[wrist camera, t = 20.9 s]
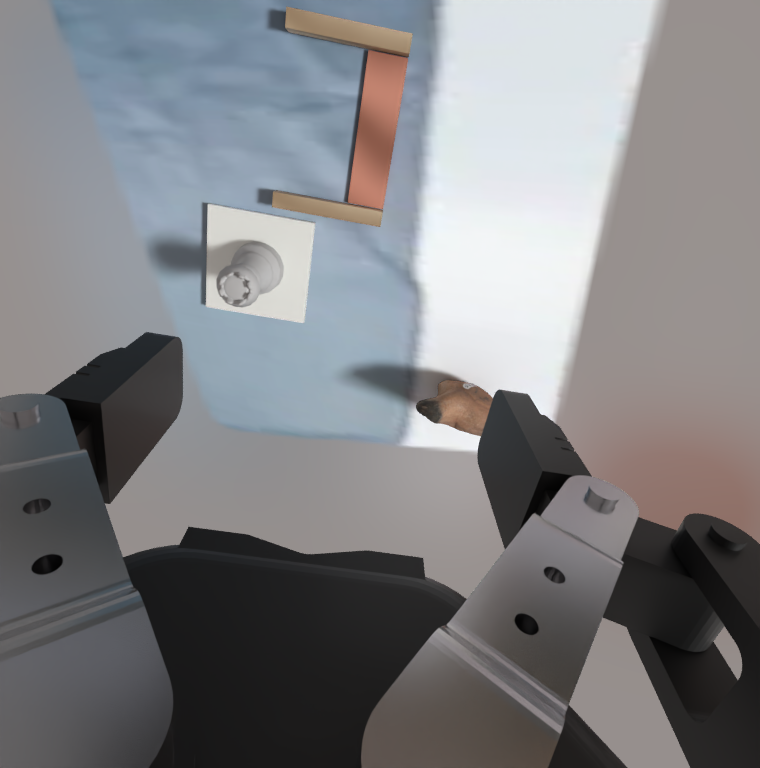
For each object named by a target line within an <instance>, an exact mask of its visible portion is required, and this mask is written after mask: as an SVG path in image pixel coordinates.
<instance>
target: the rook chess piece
mask: <svg viewBox="0 0 760 768" xmlns="http://www.w3.org/2000/svg"><path fill="white" fill-rule="evenodd" d="M283 272H284V265H283V262H282V259H281V256H280V255H279V254H278V253H277V252H276V250H275V249H274V248H273V247H271V246H269V245H267V244H266V243H262V242H256V241H253V242H250V243H246V244H244V245H243V246H241V247H240V248H239V249H238V250H237V251H236V252H235V254H234V256H233V258H232V260H231V265H229V266H226V267H225V268H223V269H222V270H221V271H220V272H219V274H218V277H217V279H216V287H217V290H218V293H219V295H220V297H222V299H223V300H224V301H225V302H226V303H227V304H229V305H232V306H235V307H246V306H250V305H251V304H252V303H254V302H255V301H256V300H257V298H258V296H259V295H260V294H264V293H268V292H270V291H271V290H273V289H274V288H275V287H277V286H278V285H279V284H280V282H281V280H282V278H283Z"/></svg>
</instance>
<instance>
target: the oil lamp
mask: <svg viewBox="0 0 760 768" xmlns="http://www.w3.org/2000/svg"><path fill="white" fill-rule="evenodd" d="M492 400H493V398H492V397H491V396H490V395H489V394H488V393H487V392H486V391H484V390H483V389H481V388H480V387H478V386H476V385H474V384H471V383H466V382H461V381H452V380H446V381H443V382H441V383H439V384H438V396H437V397H434V398H430V399H426V400H422V401H419V402H418V403H417V405H416V408H417V411H418V412H419V413H421V414H422V415H423V416H426V417H427V418H428V419H429V420H430V421H432V422H434V423H441V424H446V425H449V426H451V427H453V428H455V429H457V430H460V431H464V432H467V433H470V434H474V435H478V436H481V435H482V432H483V429H484V426H485V422H486V419H487V416H488V413H489V410H490V406H491V403H492Z"/></svg>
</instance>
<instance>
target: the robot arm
mask: <svg viewBox="0 0 760 768" xmlns="http://www.w3.org/2000/svg"><path fill="white" fill-rule="evenodd" d="M182 398H183V349H182V342H181V339H180V338H179V337H174V336H168V335H161V334H155V333H149V332H146V333H144V334H143V335H142V336H140V337H139V338H138V339H136V340H135V341H134V342H133V343H131V344H130V345H128V346H127V347H126V348H118V349H115V350H112V351H109V352H106V353H103V354H100V355H99V356H98V357H96V358H95V359H93V360H92V361H91V362H90V363H88V364H87V366H84V367H82V368H81V369H79V370H78V371H77V372H76V374H72V375H71V376H70V377H68V378H67V379H65V380H64V381H63V382H61V383H60V384H58V385H57V386H56V387H54V388H53V389H52V390H50V391H49V392H47V393H46V394H18V395H11V396H6V397H2V398H0V768H627V767H626V766H625V765H624V764H623V763H622V761H621V760H620V759H619V758H618V757H617V756H616V755H615V754H614V753H613V752H612V751H611V750H610V749H609V748H608V746H607V745H606V744H605V743H604V742H603V741H602V740H601V739H600V738H599V737H598V736H597V735H596V734H595V732H593V730H592V729H590V727H589V726H588V725H587V724H586V723H585V722H584V721H583V720H582V719H581V718H580V717H579V715H578V714H577V713H576V712H575V711H574V710H573V709H572V708H571V707H570V706H569V702H570V700H571V697H572V695H573V692H574V689H575V687H576V684H577V682H578V679H579V677H580V674H581V671H582V669H583V666H584V664H585V661H586V659H587V656H588V653H589V651H590V648H591V646H592V643H593V641H594V638H595V635H596V633H597V630H598V628H599V625H600V623H601V620H602V617H603V618H606V619H608V620H611V621H613V622H616V623H618V624H621V625H623V626H626V627H627V629H628V632H629V634H630V636H631V639H632V641H633V643H634V645H635V647H636V650H637V652H638V654H639V656H640V658H641V661H642V663H643V665H644V667H645V669H646V671H647V673H648V676H649V678H650V680H651V682H652V685H653V687H654V689H655V691H656V693H657V696H658V698H659V700H660V702H661V704H662V706H663V709H664V711H665V713H666V715H667V717H668V720H669V722H670V724H671V726H672V728H673V731H674V733H675V735H676V737H677V739H678V741H679V744H680V746H681V748H682V750H683V753H684V755H685V757H686V759H687V761H688V763H689V766H690V768H760V544H759V543H758V542H757V541H756V540H754V539H753V538H752V537H751V536H749V535H748V534H747V533H745V532H744V531H742V530H741V529H739V528H737V527H736V526H734V525H732V524H730V523H728V522H726V521H724V520H721V519H718V518H716V517H713V516H709V515H704V514H689V515H687V516H686V517H685V518H684V520H683V522H682V523H681V525H680V527H679V528H678V530H674V529H671V528H668V527H665V526H662V525H659V524H656V523H653V522H650V521H648V520H645V519H642V518H639V517H638V516H639V510H638V507H637V505H636V503H635V502H634V501H633V499H632V498H631V497H630V496H629V495H627V494H626V493H625V492H624V491H622V490H621V489H619V488H618V487H616V486H614V485H612V484H611V483H608V482H606V481H603V480H601V479H598V478H595V477H592V476H591V474H590V473H589V471H588V470H587V468H586V467H585V465H584V464H583V462H582V460H581V459H580V457H579V456H578V454H577V453H576V452H574V448H573V447H572V445H571V444H570V442H568V441H567V438H566V436H565V434H564V433H563V432H562V430H561V428H560V427H559V426H558V425H556V424H555V423H554V422H553V421H551V420H550V419H549V418H548V417H546V416H545V415H541V414H540V413H539V411H538V409H537V408H536V406H535V405H534V403H533V401H532V400H531V398H530V396H529V395H528V394H524V393H517V392H511V391H505V390H498V391H497V392H496V393H495V395H494V397H493V400H492V403H491V406H490V410H489V413H488V416H487V419H486V422H485V426H484V429H483V432H482V435H481V438H480V442H479V446H478V464H479V468H480V471H481V474H482V478H483V481H484V484H485V487H486V490H487V494H488V497H489V500H490V503H491V506H492V509H493V513H494V516H495V519H496V522H497V526H498V529H499V532H500V535H501V538H502V542H503V545H504V548H505V551H504V552H503V553H502V555H501V556H500V557H499V558H498V560H497V561H496V562H495V564H494V565H493V566H492V567H491V569H490V570H489V571H488V573H487V574H486V575H485V577H484V578H483V579H482V580H481V582H480V583H479V584H478V586H477V587H476V588H475V590H474V591H473V592H472V593H471V595H470V596H469V597H468V599H466V598H464V597H463V596H461V595H460V594H459V593H457V592H456V591H454V590H452V589H451V588H449V587H447V586H445V585H443V584H441V583H439V582H437V581H435V580H433V579H430V578H427V577H425V573H424V563H423V558H419V557H412V556H404V555H396V554H389V553H382V552H374V551H353V552H339V553H325V554H303V553H299V552H296V551H293V550H290V549H287V548H285V547H281V546H279V545H276V544H273V543H270V542H267V541H265V540H261V539H259V538H256V537H253V536H250V535H246V534H239V533H231V532H224V531H216V530H208V529H200V528H193V527H188V529H187V531H186V533H185V535H184V537H183V539H182V541H181V543H180V545H171V546H164V547H158V548H153V549H149V550H145V551H141V552H138V553H135V554H132V555H129V556H126V557H122V554H121V551H120V548H119V545H118V542H117V539H116V536H115V533H114V530H113V527H112V524H111V521H110V518H109V515H108V512H107V509H106V506H105V503H107V504H110V503H111V502H112V501H113V499H114V498H115V497H116V496H117V494H118V493H119V492H120V490H121V489H122V488H123V486H124V485H125V484H126V483H127V481H128V480H129V479H130V478H131V476H132V475H133V474H134V472H135V471H136V470H137V468H138V467H139V466H140V464H141V463H142V462H143V461H144V459H145V458H146V457H147V456H148V454H149V453H150V452H151V450H152V449H153V448H154V447H155V445H156V444H157V442H158V441H159V440H160V439H161V438H162V436H163V435H164V434H165V432H166V431H167V430H168V429H169V427H170V426H171V425H172V423H173V422H174V421H175V419H176V418H177V416H178V414H179V412H180V408H181V404H182ZM724 626H725V627H726V629H727V630H728V632H729V633H730V635H731V636H732V638H733V639H734V641H735V642H736V644H737V646H738V648H739V650H740V653H741V657H742V673H741V676H740V678H739V680H737V679H736V677H735V675H734V674H733V672H732V671H731V669H730V667H729V666H728V664H727V663H726V661H725V659H724V658H723V656H722V655H721V653H720V651H719V650H718V648H717V647H716V645H715V644H714V642H713V641H714V640H715V638H716V637H717V636H718V634H719V633H720V631H721V630H722V629H723V627H724Z"/></svg>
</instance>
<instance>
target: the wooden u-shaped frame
mask: <svg viewBox="0 0 760 768" xmlns="http://www.w3.org/2000/svg"><path fill="white" fill-rule="evenodd" d="M285 28H286V29H287V31H288V32H290V33H294V34H299V35H304V36H309V37H313V38H318V39H323V40H328V41H332V42H337V43H342V44H347V45H351V46H356V47H361V48H366V49H370V50H369V51H368V58H367V65H366V72H365V80H364V87H363V94H362V102H361V109H360V116H359V124H358V131H357V138H356V146H355V153H354V160H353V167H352V175H351V182H350V189H349V197H348V203H353V204H358V205H363V206H358V205H353V204H348V203H342V202H337V201H332V200H326V199H321V198H315V197H310V196H305V195H299V194H294V193H289V192H283V191H278V190H276V191H273V201H272V207H274V208H280V209H285V210H291V211H296V212H302V213H307V214H312V215H318V216H323V217H329V218H334V219H340V220H345V221H351V222H356V223H361V224H367V225H372V226H378V227H380V225H381V219H382V213H383V210H380V209H383V205H384V199H385V193H386V187H387V181H388V175H389V169H390V164H391V158H392V152H393V146H394V140H395V134H396V128H397V122H398V116H399V110H400V104H401V98H402V92H403V86H404V80H405V74H406V68H407V62H408V58H404V57H409V52H410V46H411V41H412V35H413V34H411V33H407V32H402V31H397V30H393V29H388V28H383V27H379V26H374V25H369V24H365V23H360V22H355V21H351V20H346V19H341V18H337V17H332V16H328V15H323V14H318V13H314V12H309V11H304V10H300V9H295V8H290V7H286V21H285ZM371 50H375V51H371ZM376 51H380V52H376ZM381 52H385V53H389V54H385V53H381ZM390 54H394V55H390ZM395 55H399V56H395ZM400 56H404V57H400ZM364 206H369V207H374V208H369V207H364ZM375 208H379V209H375Z"/></svg>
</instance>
